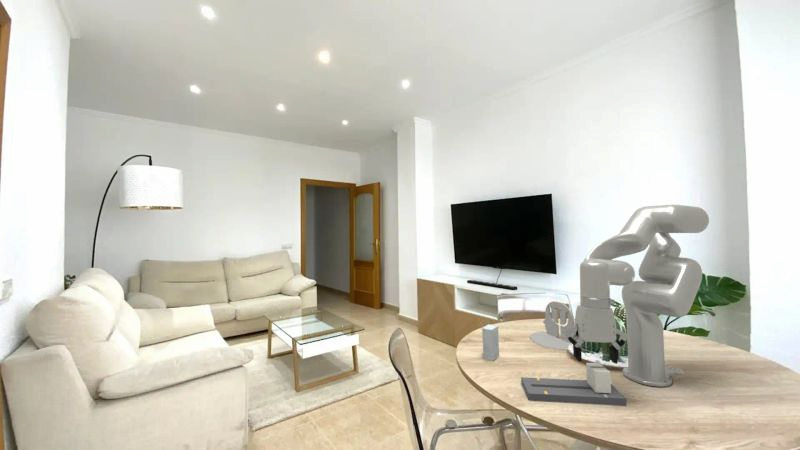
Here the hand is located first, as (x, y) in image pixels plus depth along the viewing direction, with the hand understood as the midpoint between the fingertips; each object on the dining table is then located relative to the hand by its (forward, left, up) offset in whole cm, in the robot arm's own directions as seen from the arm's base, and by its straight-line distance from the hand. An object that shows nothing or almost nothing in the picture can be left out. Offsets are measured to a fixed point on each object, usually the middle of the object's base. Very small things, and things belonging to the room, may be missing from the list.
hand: (595, 360), depth 93 cm
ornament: (0, -45, -11) cm, 46 cm away
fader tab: (-1, 0, -8) cm, 8 cm away
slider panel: (+7, 0, -11) cm, 13 cm away
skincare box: (+27, -25, -11) cm, 39 cm away
